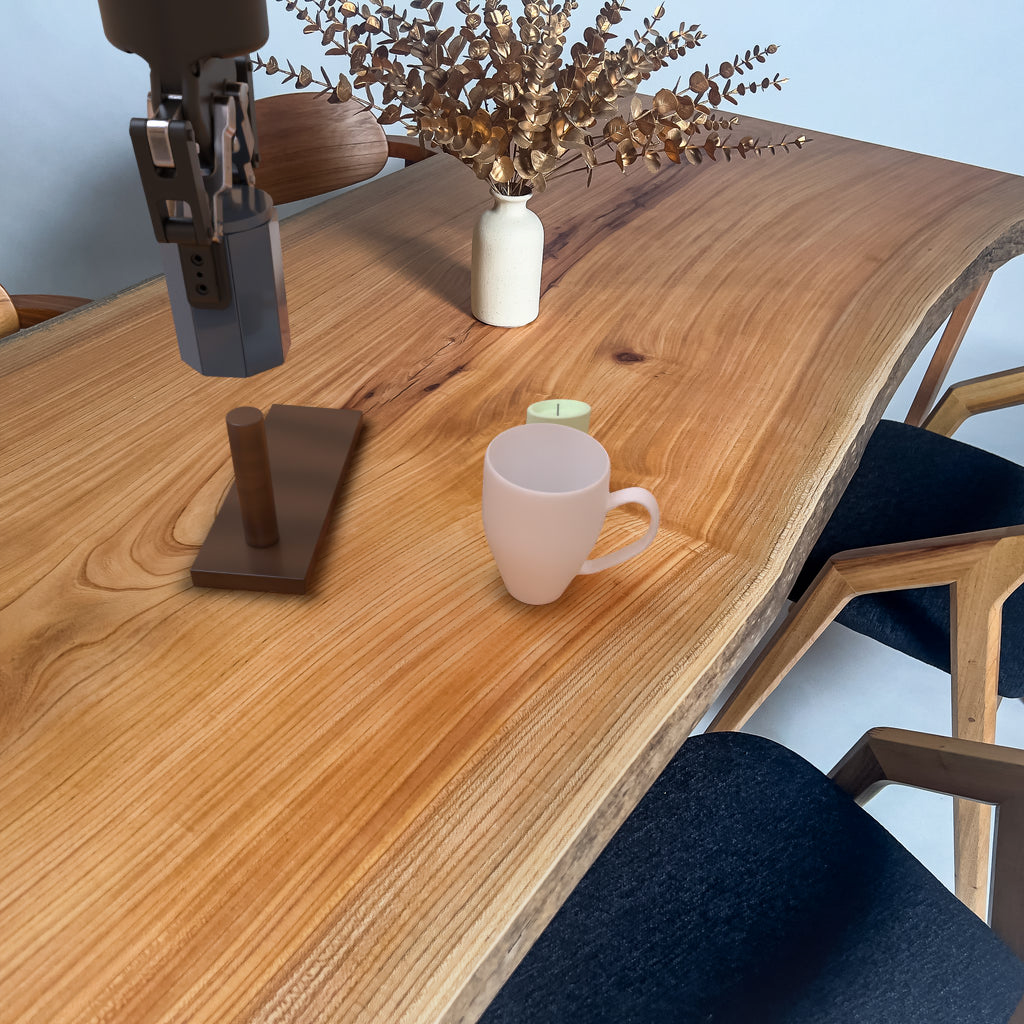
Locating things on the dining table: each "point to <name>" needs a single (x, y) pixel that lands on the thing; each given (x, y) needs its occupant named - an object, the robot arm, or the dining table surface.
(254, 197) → the cup
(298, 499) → the cup stand
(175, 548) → the dining table surface
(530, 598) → the mug
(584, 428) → the candle
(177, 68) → the robot arm
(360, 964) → the dining table surface
